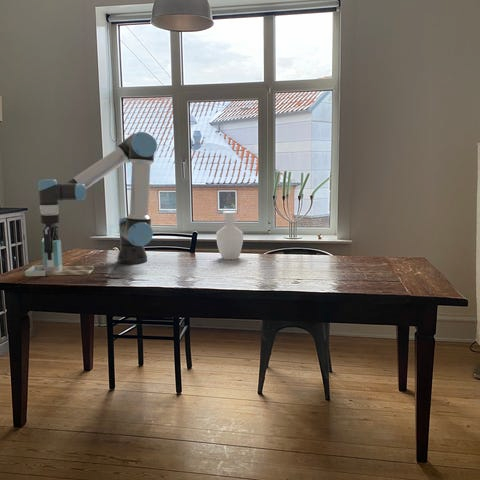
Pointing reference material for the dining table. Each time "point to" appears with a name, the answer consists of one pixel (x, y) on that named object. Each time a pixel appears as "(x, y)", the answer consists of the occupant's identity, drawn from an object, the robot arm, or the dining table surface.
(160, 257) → the dining table surface
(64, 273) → the slot board
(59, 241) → the teal tall block
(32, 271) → the tray
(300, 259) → the dining table surface
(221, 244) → the vase
